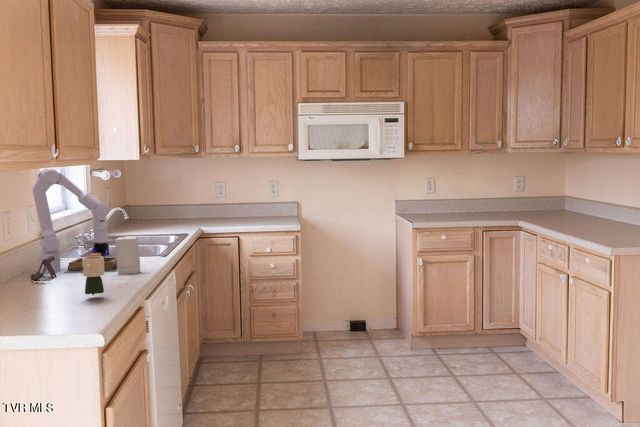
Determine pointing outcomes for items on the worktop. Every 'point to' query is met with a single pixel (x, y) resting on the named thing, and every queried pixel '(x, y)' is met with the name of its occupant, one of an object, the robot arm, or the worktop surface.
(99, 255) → the part block
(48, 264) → the portable electronic device stand
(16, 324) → the worktop surface
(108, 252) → the cable clip
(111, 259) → the brown wooden tray
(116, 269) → the dock mat
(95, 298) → the worktop surface
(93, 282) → the character mug
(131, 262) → the skincare box
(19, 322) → the worktop surface
